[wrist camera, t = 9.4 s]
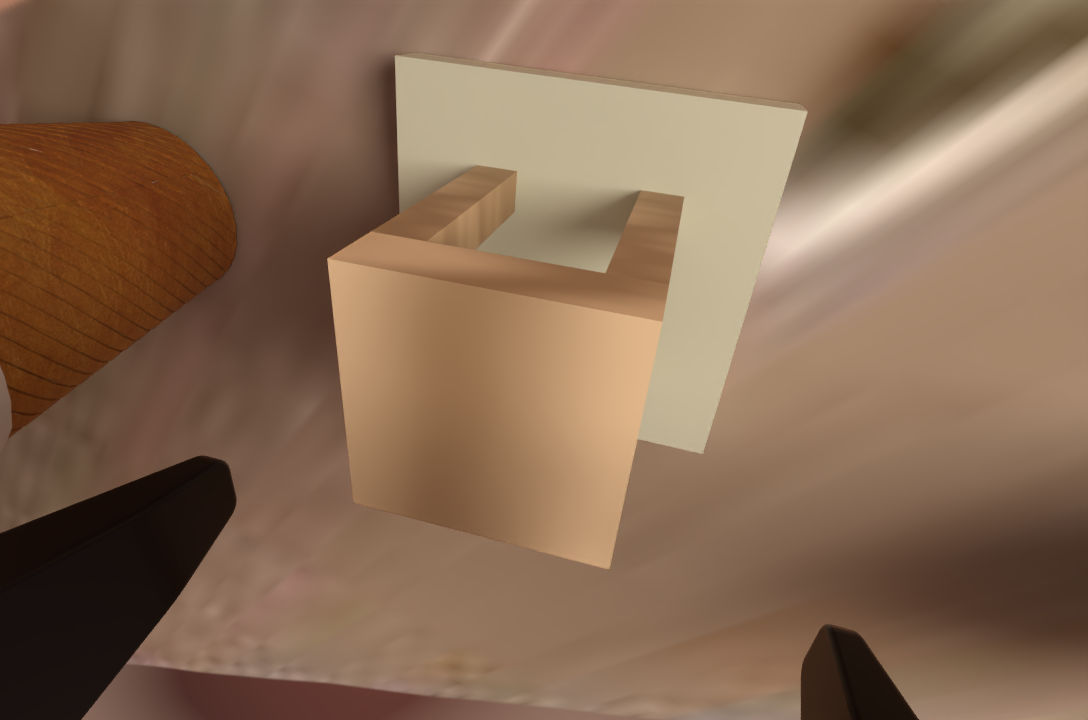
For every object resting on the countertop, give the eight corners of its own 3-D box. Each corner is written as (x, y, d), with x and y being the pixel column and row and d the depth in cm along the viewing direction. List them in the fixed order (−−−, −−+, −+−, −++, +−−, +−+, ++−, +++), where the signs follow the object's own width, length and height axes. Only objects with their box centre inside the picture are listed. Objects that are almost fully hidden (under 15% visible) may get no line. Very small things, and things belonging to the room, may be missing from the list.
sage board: (800, 103, 16) (807, 111, 15) (703, 428, 22) (702, 454, 20) (417, 52, 18) (394, 55, 16) (421, 365, 23) (404, 385, 22)
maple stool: (684, 196, 16) (663, 321, 10) (646, 378, 19) (609, 569, 13) (477, 164, 17) (327, 259, 11) (472, 343, 20) (353, 503, 14)
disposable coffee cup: (309, 178, 21) (-82, 331, 11) (241, 361, 26) (-65, 584, 16) (63, 9, 20) (-616, 0, 10) (44, 233, 25) (-414, 380, 15)
